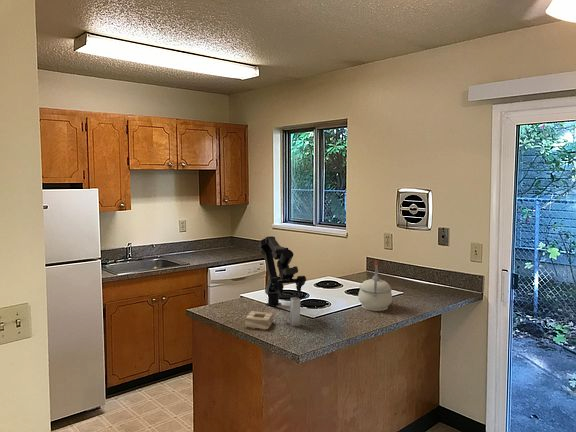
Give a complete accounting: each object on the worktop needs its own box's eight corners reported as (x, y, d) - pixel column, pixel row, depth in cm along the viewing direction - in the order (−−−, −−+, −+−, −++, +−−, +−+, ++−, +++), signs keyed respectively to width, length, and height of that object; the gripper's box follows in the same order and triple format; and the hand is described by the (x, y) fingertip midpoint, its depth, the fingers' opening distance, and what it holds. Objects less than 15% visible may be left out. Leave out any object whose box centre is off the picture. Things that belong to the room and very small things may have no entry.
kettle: (392, 314, 245) (394, 267, 242) (356, 311, 249) (358, 265, 246) (391, 301, 269) (393, 258, 267) (359, 298, 273) (360, 256, 270)
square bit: (289, 323, 227) (290, 297, 226) (296, 323, 228) (297, 297, 227) (292, 326, 224) (293, 299, 222) (299, 325, 225) (300, 299, 223)
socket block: (251, 320, 231) (251, 311, 230) (272, 322, 229) (273, 313, 228) (245, 327, 220) (245, 318, 220) (267, 329, 218) (268, 320, 218)
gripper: (270, 261, 230) (276, 289, 221) (305, 259, 237) (313, 286, 228) (265, 273, 239) (271, 301, 229) (299, 271, 245) (306, 298, 236)
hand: (291, 296), depth 230 cm, fingers open, 9 cm apart
